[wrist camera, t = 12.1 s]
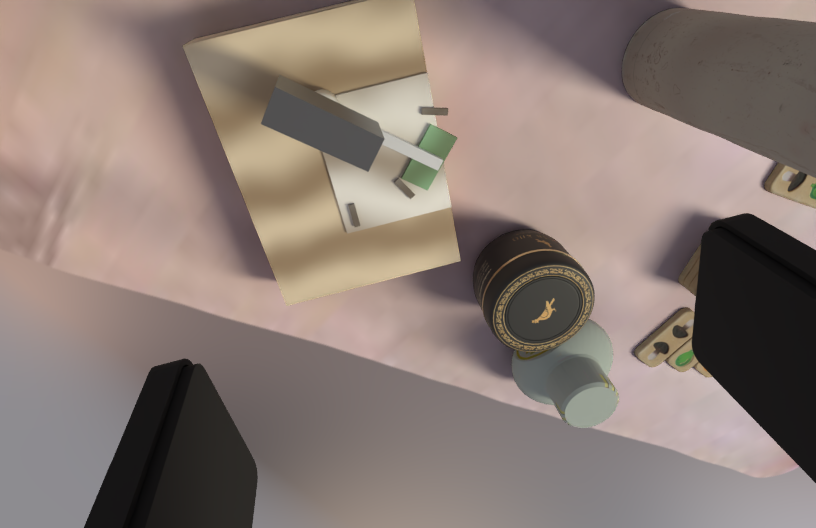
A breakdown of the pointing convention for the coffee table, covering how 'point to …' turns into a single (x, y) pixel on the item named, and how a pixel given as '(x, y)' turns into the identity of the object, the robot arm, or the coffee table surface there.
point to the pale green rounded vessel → (571, 377)
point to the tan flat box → (320, 172)
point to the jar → (532, 291)
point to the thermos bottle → (731, 79)
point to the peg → (334, 126)
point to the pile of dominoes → (677, 331)
